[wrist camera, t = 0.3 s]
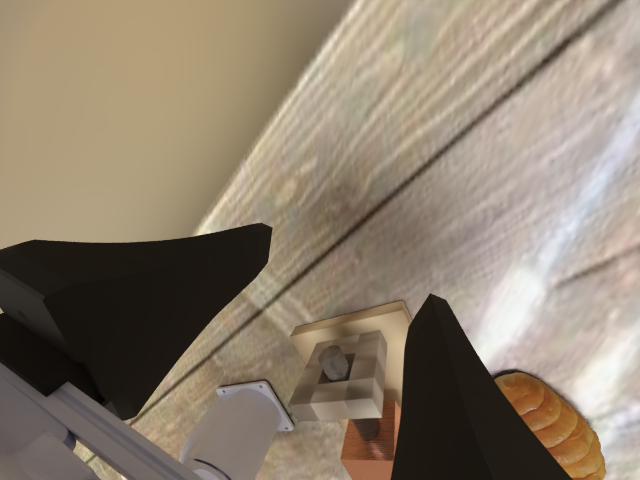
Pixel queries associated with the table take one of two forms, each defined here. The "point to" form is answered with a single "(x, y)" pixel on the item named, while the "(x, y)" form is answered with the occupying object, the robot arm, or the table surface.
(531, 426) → the pastry
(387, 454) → the bolt
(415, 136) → the table surface
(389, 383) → the latch board
